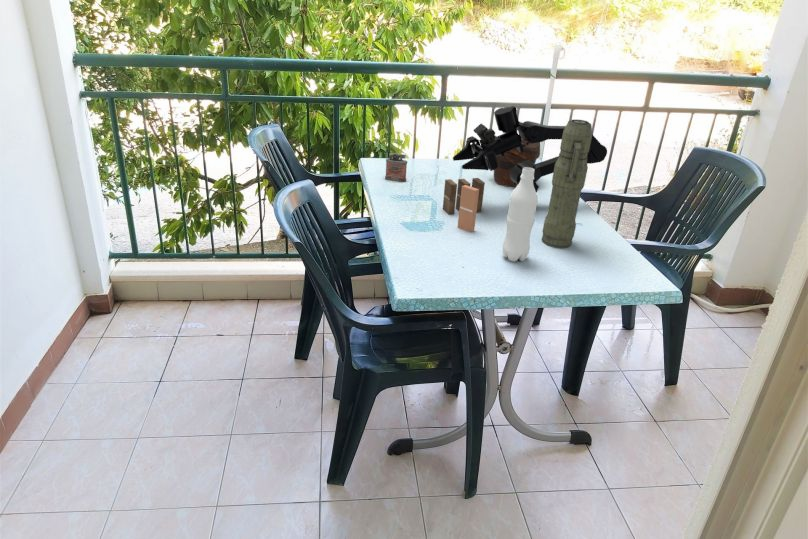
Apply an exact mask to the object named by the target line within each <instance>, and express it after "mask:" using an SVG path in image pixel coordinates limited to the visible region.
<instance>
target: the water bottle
mask: <svg viewBox="0 0 808 539" xmlns="http://www.w3.org/2000/svg"><path fill="white" fill-rule="evenodd" d="M520 178H521V180H520V182H519V184H518V185H517V187H516V188H515V187H514V189H513V191H512V192H511V195H510V197H509V203H508V204H509V205H508V213H507V216H506V233H505V237H504V240H503V241H502V242H503V243H502V254H503V257H504V258H505V259H508V261H510V262H517V261H518V260H519V261H520V262H523V261H525V260H526V259H527V257H528V256H529V254H530V249H531V245H530V244H531V243H530V241H531V239H530V238H531V233H532V229H533V227H534V224H535V217H536V212H537V211H536V210H537V206H538V201H539V200H538V199H539V198H538V194H537V192H536V191H535V188H534V185H533V180H534V169H533V168H530V167H524V168H523V170H522V174H521V176H520Z"/></svg>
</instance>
